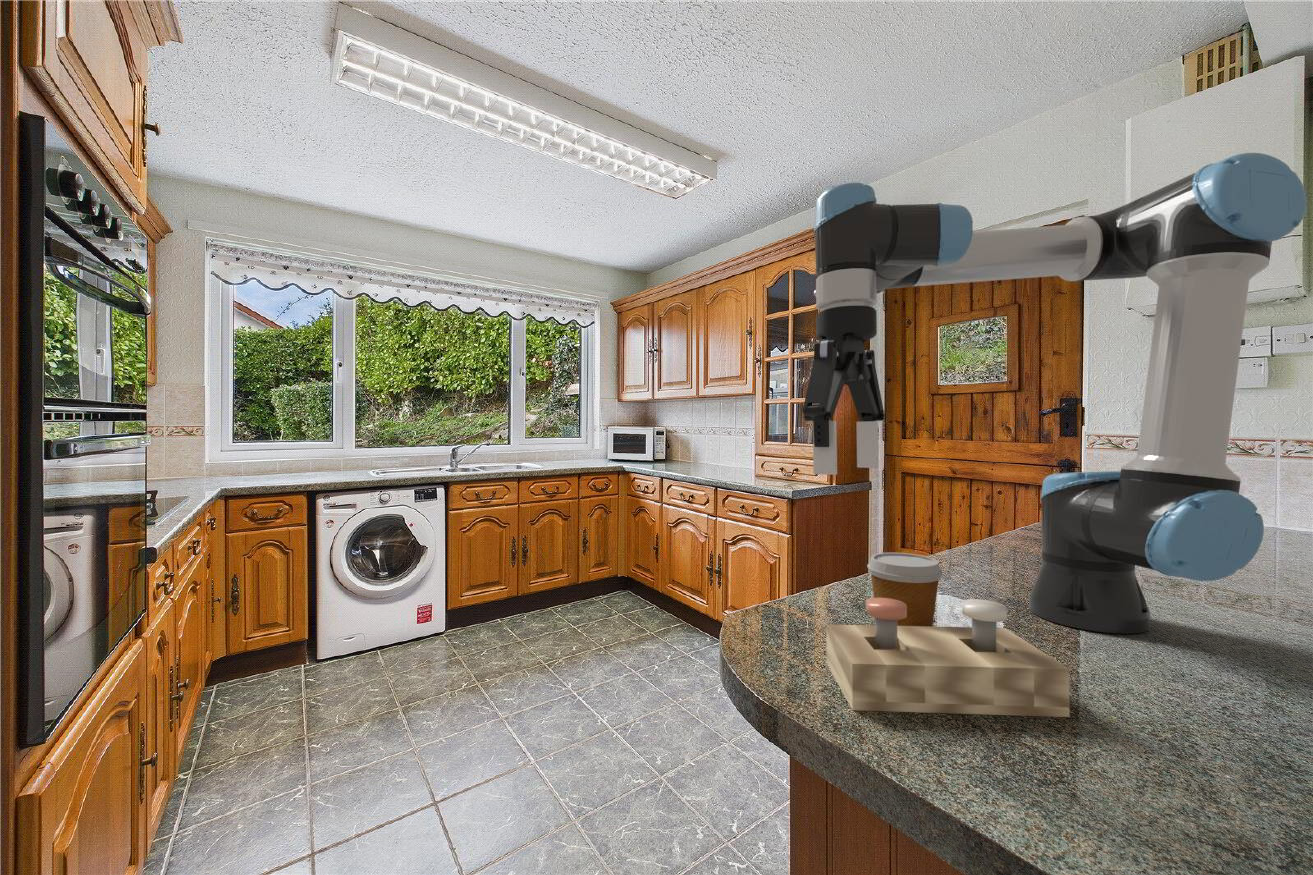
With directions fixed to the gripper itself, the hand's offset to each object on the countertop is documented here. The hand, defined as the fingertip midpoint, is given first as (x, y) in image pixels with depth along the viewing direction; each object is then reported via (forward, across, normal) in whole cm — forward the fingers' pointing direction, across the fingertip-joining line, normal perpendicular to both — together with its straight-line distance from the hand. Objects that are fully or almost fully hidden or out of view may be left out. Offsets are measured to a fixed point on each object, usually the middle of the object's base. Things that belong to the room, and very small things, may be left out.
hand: (847, 471), depth 72 cm
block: (+25, +2, +11) cm, 27 cm away
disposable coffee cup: (+25, -9, +4) cm, 27 cm away
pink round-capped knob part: (+20, +5, +7) cm, 22 cm away
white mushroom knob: (+20, -1, +15) cm, 25 cm away
